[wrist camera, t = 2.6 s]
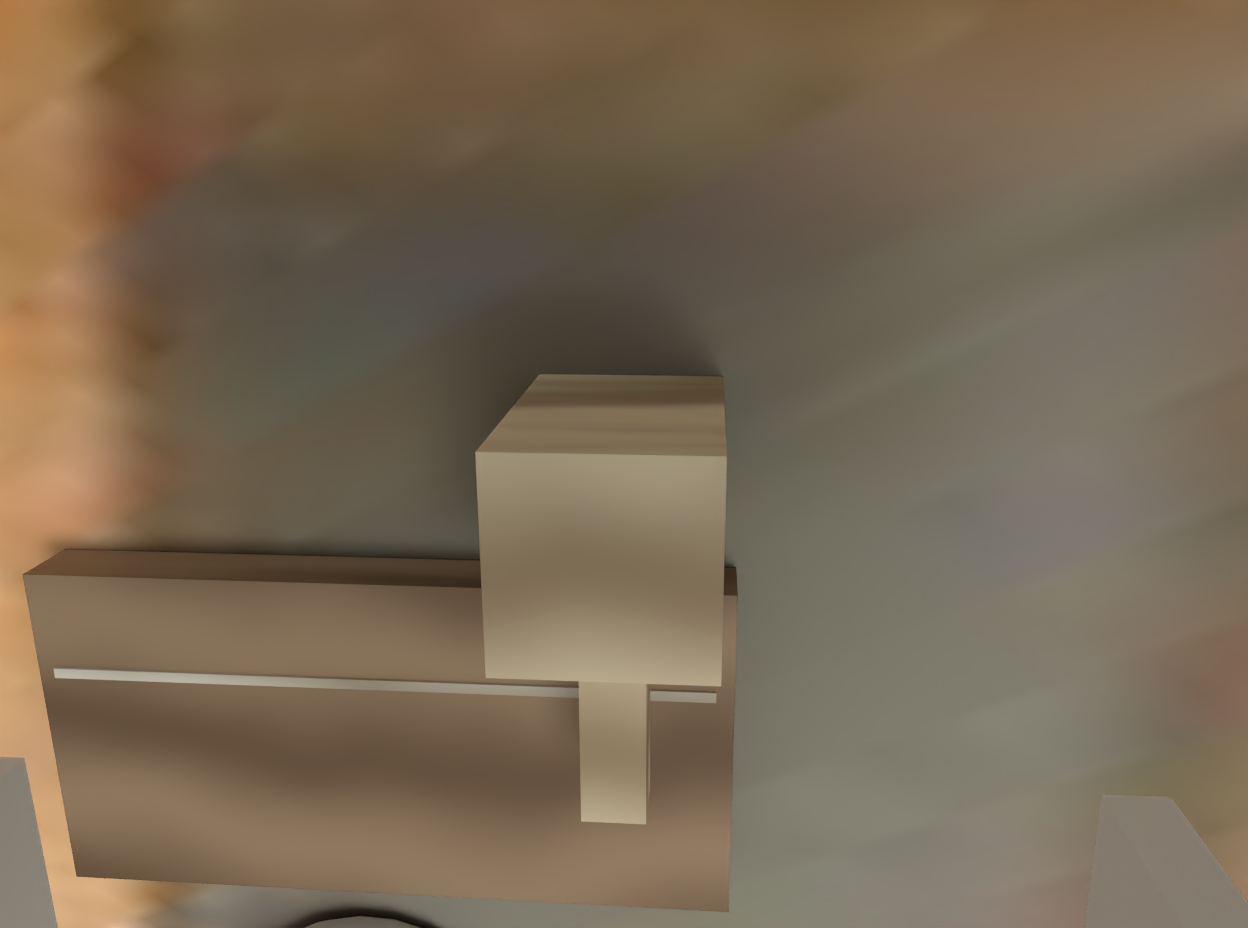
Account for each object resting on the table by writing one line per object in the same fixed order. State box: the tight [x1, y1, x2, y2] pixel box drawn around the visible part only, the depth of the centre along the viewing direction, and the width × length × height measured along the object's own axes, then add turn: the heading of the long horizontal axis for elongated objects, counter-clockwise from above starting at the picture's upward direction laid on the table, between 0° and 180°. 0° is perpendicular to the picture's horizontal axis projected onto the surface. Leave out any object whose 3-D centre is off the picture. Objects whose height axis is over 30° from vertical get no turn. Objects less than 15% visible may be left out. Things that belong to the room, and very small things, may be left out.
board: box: [23, 549, 738, 912], centre depth 30 cm, size 10×20×2 cm, turn 90°
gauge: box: [475, 374, 727, 824], centre depth 26 cm, size 10×5×8 cm, turn 0°
